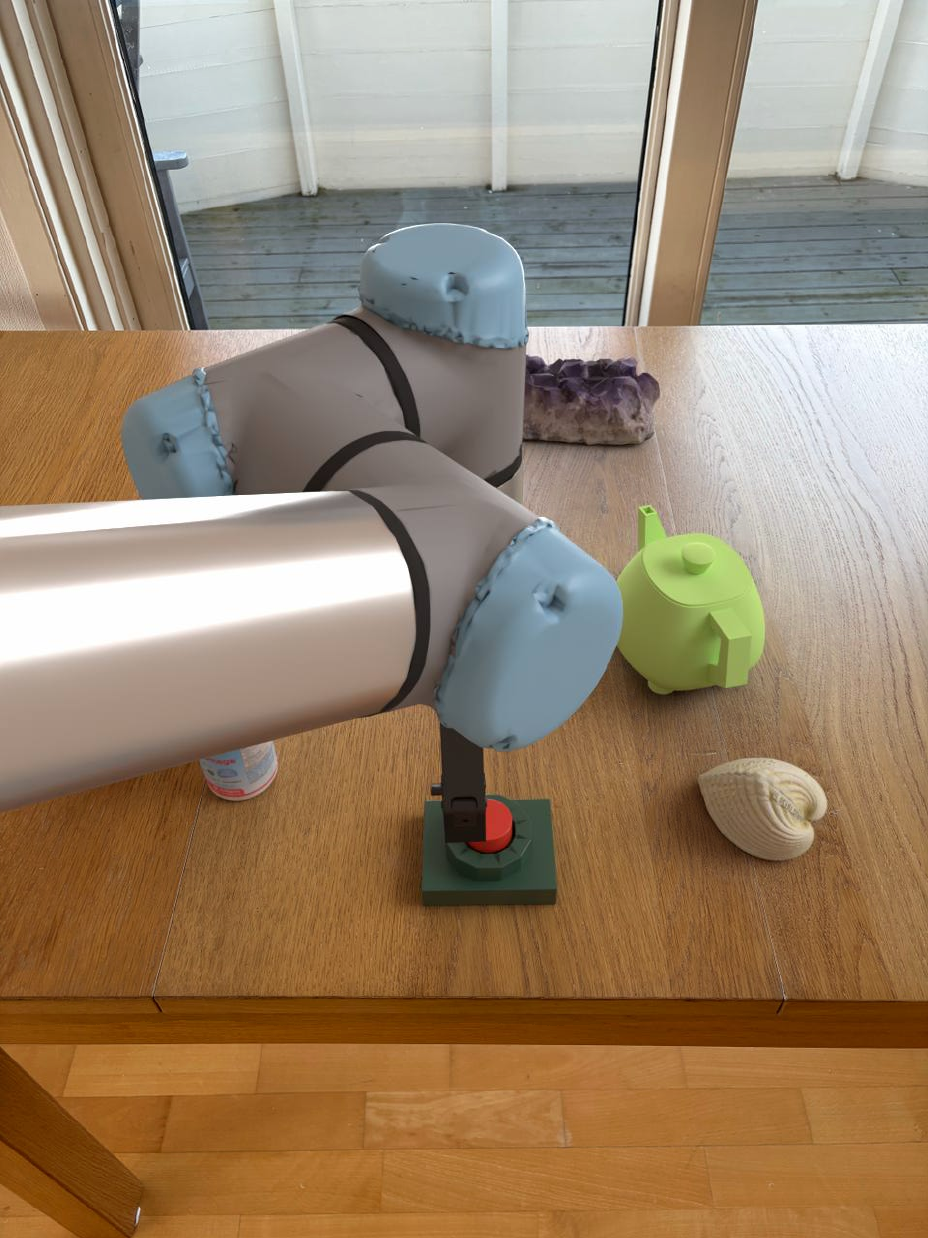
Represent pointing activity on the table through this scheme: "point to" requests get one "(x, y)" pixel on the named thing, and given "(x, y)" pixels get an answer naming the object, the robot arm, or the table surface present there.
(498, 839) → the button
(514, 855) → the button block
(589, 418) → the geode
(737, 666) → the teapot
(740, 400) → the table surface
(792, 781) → the seashell
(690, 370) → the table surface
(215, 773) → the pill bottle
